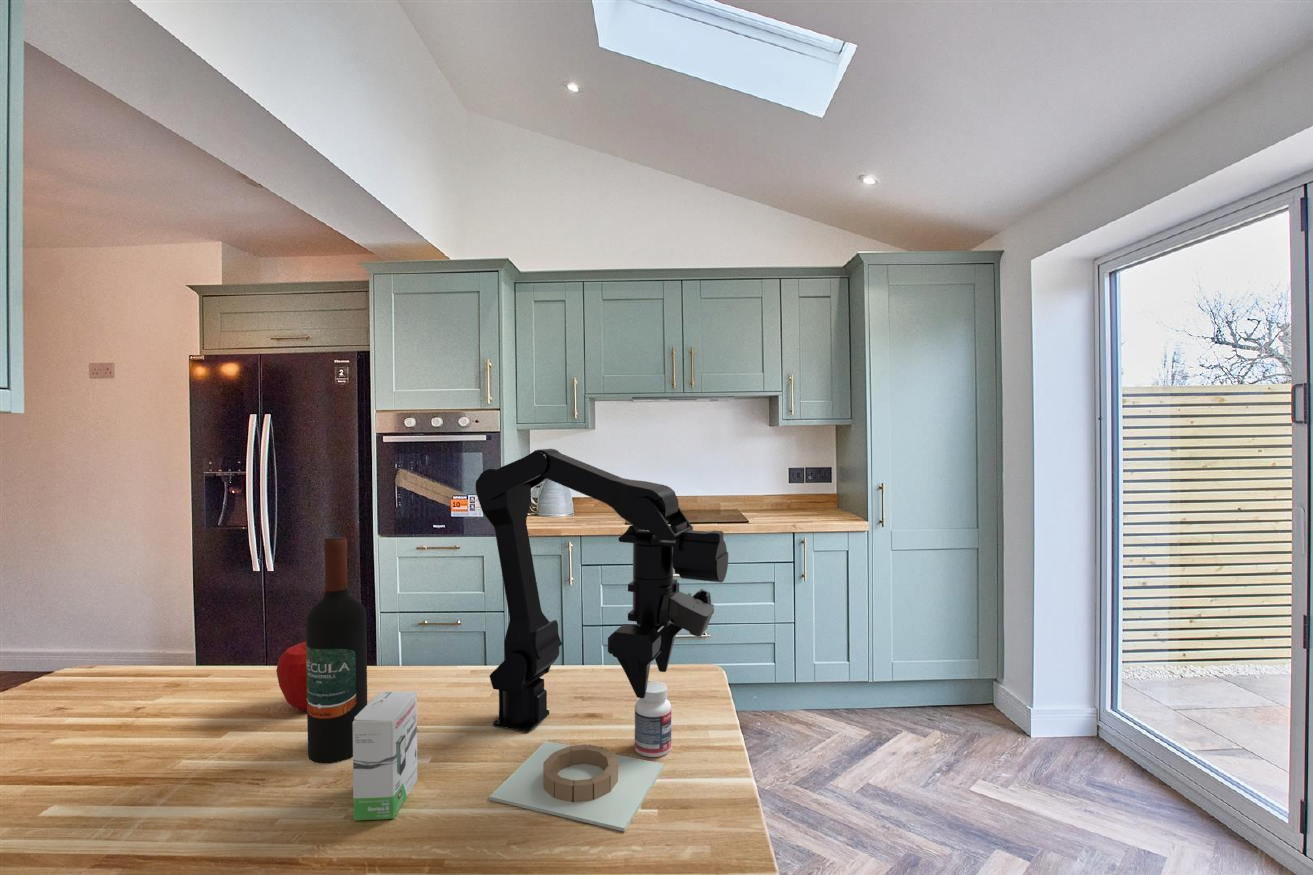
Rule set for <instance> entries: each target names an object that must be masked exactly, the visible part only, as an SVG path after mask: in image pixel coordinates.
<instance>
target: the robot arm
mask: <svg viewBox="0 0 1313 875" xmlns="http://www.w3.org/2000/svg"><path fill="white" fill-rule="evenodd" d="M546 480H549V481H551V482H554V483H556V484H559V485H560V486H564V487H566V488H568V489H570V490H573V491H575V492H578V493H580V494H582V495H585V496H587V497H588V498H589V497H590V498H592V499H594V500H596V501H599V502H601V503H603V504H605V505H607V506H608V507H610V508H611V509H612V510H613V511H614V512H615V513H616V514H617V515H618V516H619V517H620V518H621V519H624V520H625V521H626V522H628V523H630V524H631V525H629V526H628V528H627V530H625V532H624V533H623V534H621V535H620V536H619V537H618V541H619V543H625V544H626V543H627V544H628V543H629V544H632V581H630V582H629V583H628V584H627V592H628V593H629V592H630V593H631V592H632V609H631V610H630V611H629V612H627V621H628V622H635V623H636V624H637V625H636V624H629V623H623V624H622V625H620V627H618V628H617V629H616V630H614V632H612V633H611V634H610V635H609V636H608V637H607V653H609V655H612V657H614V658H616V659H617V661H618V662H619V664H620V666H621V667H622V670H623V671H624V673H625V675H626V678H627V679H628V681H629V683H630V686H631V688H632V690H633V693H634V694H635V697H636V698H639V699H640V698H644V697H645V695H646V690H647V684H648V681H649V675H650V669H651V668H650V667H651V663H652V662H653V661H654V660H655V663H656V666H657V669H658V671H659V672H661V673H665V672H667V670H668V666H669V663H670V658H671V655H672V651H673V647H674V643H675V640H676V636H677V634H678V633H679V632H681V631H682V629H683V630H685V631H687V632H689V634H691V636H695V637H702V635H703V633H704V632H705V631H706V630H707V629H708V627H709V624H710V621H711V618H712V615H713V614H714V612H715V608H714V607H715V604H714V603H712V597H711V593H710V591H707V590H705V589H703V588H701V589H699V590H698V591H697V592H696V593H695V594H693V595H692V594H691V593H690V592H689V593H684V592H682V591H680V582H678V579H675V578H674V574H675V575H678V576H679V577H680V578H681V579H686V580H692V581H693V580H695V581H703V582H711V583H712V582H713V583H719V584H720V583H723V582H724V581H725V579H726V577H727V572H728V567H729V552H728V549H727V544H726V541H725V540H724V532H723V530H710V531H709V530H708V531H706V530H705V531H704V530H696V529H695V530H694V527H693V525H692V524H691V523H690V521H689V519H688V518H687V516H686V515H685V514H684V512H683V511H682V509H681V508H680V506H679V505H680V504H679V499H678V496H677V494H676V491H675V490H674V489H673V488H672V487H669V486H668V485H666V484H665V485H664V484H663V483H662V484H660V483H657V482H651V481H645V480H644V481H643V480H636V479H628V478H624V477H620V476H618V475H616V474H614V473H611V472H608V471H606V470H604V469H601V468H599V467H596V466H593V465H591V464H588V463H585V462H584V461H580V460H578V459H576V458H573V457H571V456H568V455H566V454H564V453H561V452H560V451H559V450H557V449H554V448H543V449H542V448H541V449H536V450H534V451H532V452H531V453H529V454H527V455H525V456H524V457H522V458H519V459H517V460H515V461H514V460H513V461H512V462H510V463H507V464H505V465H503V466H500V467H494V468H488V469H486V470H484V471H483V472H481V473H480V475H479V476H478V479H476V480H475V484H474V485H475V493H476V497H477V500H478V503H479V506H480V509H481V512H482V513H483V515H484V516H485V517H486V519H487V520H488V521H489V523H490V524H491V525H492V526H493V530H494V533H495V540H496V546H497V553H498V557H499V558H498V559H499V564H500V570H501V576H502V581H503V587H504V593H505V600H506V603H507V604H506V605H507V611H508V612H507V613H508V616H509V617H508V618H509V622H508V624H507V629H506V633H505V637H504V640H503V641H504V642H503V651H504V652H503V655H504V656H503V657H504V660H503V661H502V662H501V663H500V664H499V665H498V666H497V667H496V668H495V669H494V670H493V671H492V672H491V673H490V674H489V679H490V684H491V686H492V689H494V690H496V691H497V690H498V717H497V718H496V719H494V720H493V721H492V725H493V726H494V727H499V728H506V729H510V730H516V731H521V732H526V733H527V732H528V733H529V732H531V731H533V729H535V728H536V727H537V726H538V725H539V724H540V723H541V722H543V720H544V719H546V718H547V716H549V715H550V710H549V709H548V705H547V704H548V701H547V700H548V699H547V698H548V691H547V689H545V678H541V677H543V676H544V675H547V674H548V673H549V672H550V670H551V666H552V665H553V664H554V663H555V662H556V660H557V659H558V657H560V647H561V646H562V645H563V642H562V640H561V638H560V634H559V623H558V621H557V619H554V620H551V621H550V620H549V619H548V618H547V616H545V614H544V613H543V611H542V606H541V601H540V594H539V590H538V583H537V577H536V571H535V567H534V566H535V564H534V561H533V560H534V559H533V554H532V548H531V544H530V542H531V541H530V537H529V532H528V525H527V520H528V516H529V512H530V508H531V504H532V489H533V488H534V487H537V486H539V485H540V484H542V483H543V482H545V481H546Z"/></svg>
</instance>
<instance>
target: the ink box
mask: <svg viewBox="0 0 1313 875" xmlns="http://www.w3.org/2000/svg"><path fill="white" fill-rule="evenodd" d="M417 699H418V692H417V691H395V690H393V691H387V690H385V691H380V692H378V693H377V695H375V696H374V698H372V699H371V700H370V701H369V702H367V705H366V706H365V707H364V708H363V709H362V710H361V711H360V712H359V713H358V714H357V715H356V716H355V718H354V721H353V723H352V724H353V757H352V789H353V790H352V796H353V797H352V798H353V799H352V801H353V804H352V805H353V806H352V808H353V810H352V813H353V815H352V816H353V821H371V820H372V821H373V820H374V821H375V820H387V819H388V820H391V819H395V817H396V816H397V814H398V812H399V811H400V809H401V807H402V806H403V803H404V802H406V799H407V798H408V795H410V792H411V791H412V789H413V787H414V786H415V784H416V783H417V780H418V734H417V733H418V710H417V709H418V705H417V704H418V702H417V701H418V700H417Z"/></svg>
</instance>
